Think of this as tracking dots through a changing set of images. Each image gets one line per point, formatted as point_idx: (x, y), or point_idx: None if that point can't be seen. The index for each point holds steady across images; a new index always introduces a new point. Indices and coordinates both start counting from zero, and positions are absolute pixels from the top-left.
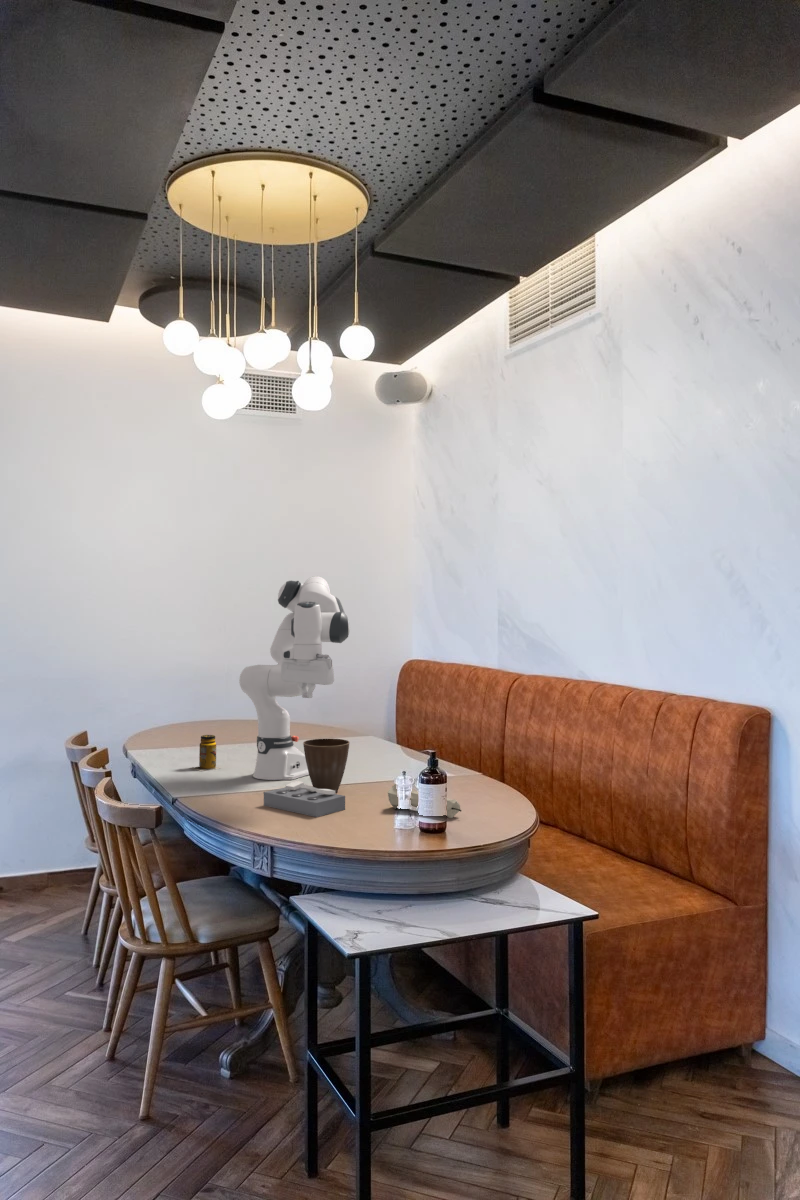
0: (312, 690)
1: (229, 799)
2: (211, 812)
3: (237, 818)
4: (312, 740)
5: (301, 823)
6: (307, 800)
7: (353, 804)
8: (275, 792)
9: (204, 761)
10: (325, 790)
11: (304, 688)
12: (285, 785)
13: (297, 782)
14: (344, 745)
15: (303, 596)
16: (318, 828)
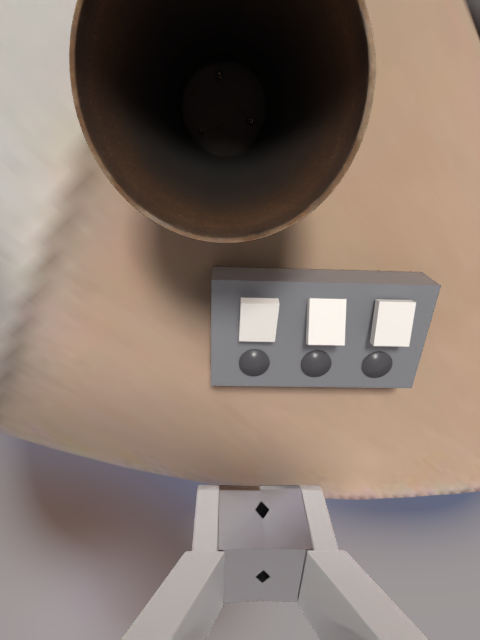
0: (365, 594)
1: (90, 372)
2: (173, 462)
3: (255, 461)
4: (77, 66)
5: (396, 418)
6: (375, 383)
7: (412, 208)
8: (240, 371)
9: None
10: (408, 345)
11: (191, 632)
12: (239, 340)
13: (259, 312)
14: (372, 89)
15: None
16: (449, 423)
